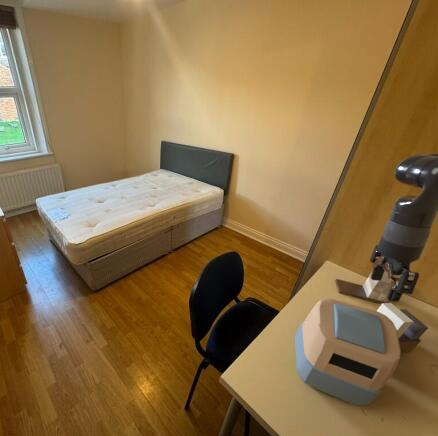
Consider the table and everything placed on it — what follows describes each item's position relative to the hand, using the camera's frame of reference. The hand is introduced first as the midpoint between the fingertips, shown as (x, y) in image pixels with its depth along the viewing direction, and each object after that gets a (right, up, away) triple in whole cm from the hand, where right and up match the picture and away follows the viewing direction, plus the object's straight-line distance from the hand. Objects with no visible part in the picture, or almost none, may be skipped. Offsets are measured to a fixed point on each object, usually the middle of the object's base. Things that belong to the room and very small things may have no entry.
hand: (383, 289), depth 64 cm
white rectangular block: (+8, -15, +8) cm, 19 cm away
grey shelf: (+8, -21, +11) cm, 25 cm away
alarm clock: (-13, -25, +4) cm, 29 cm away
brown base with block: (+20, -10, +29) cm, 36 cm away
